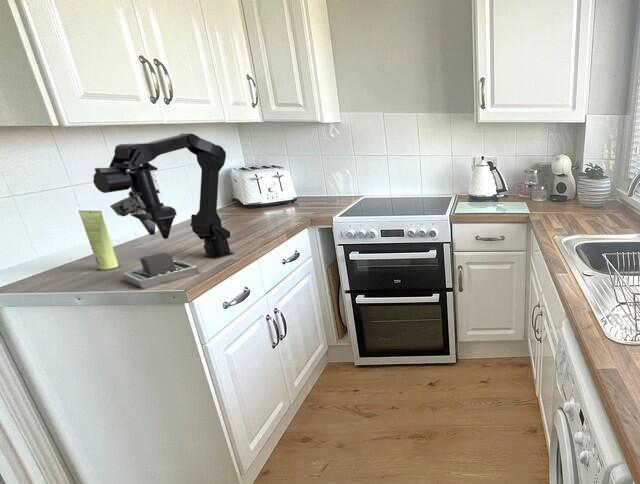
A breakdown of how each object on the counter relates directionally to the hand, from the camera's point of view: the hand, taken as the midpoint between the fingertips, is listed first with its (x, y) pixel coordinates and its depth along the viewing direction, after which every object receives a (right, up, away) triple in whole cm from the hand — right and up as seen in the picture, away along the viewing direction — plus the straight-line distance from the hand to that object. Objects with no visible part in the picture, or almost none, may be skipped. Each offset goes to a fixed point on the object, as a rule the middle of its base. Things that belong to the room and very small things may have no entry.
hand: (159, 236), depth 131 cm
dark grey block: (+2, -11, -1) cm, 11 cm away
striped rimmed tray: (+2, -13, -1) cm, 13 cm away
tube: (-23, -10, +8) cm, 26 cm away
